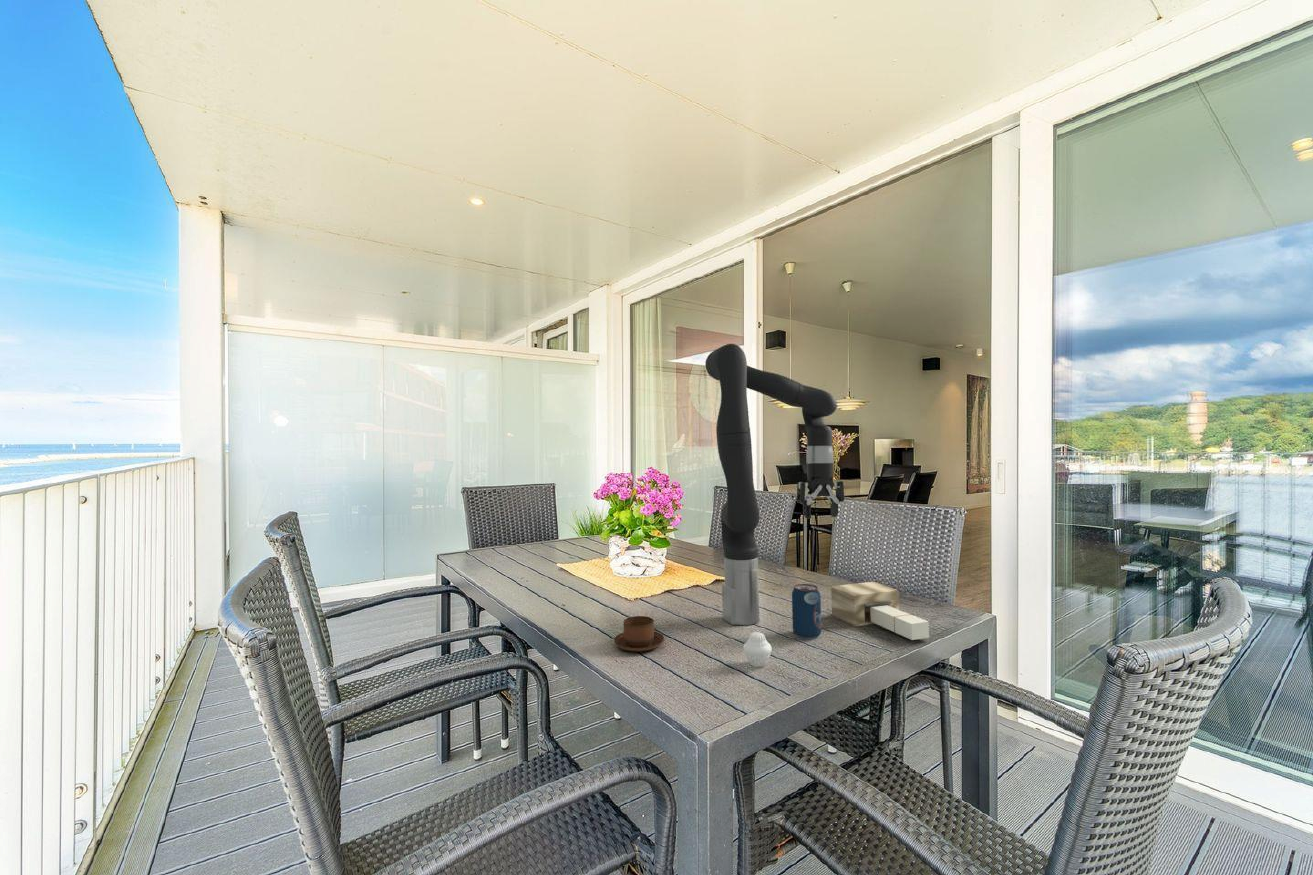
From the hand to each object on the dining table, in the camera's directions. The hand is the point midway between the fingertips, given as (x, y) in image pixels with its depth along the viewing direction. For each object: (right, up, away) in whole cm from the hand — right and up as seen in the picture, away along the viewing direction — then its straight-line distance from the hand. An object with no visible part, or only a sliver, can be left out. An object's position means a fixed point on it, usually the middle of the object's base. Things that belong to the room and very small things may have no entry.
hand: (820, 517), depth 154 cm
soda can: (-10, -27, -21) cm, 35 cm away
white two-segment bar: (+13, -25, -21) cm, 35 cm away
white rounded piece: (-26, -27, -38) cm, 53 cm away
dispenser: (+9, -26, -9) cm, 29 cm away
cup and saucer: (-52, -28, -26) cm, 64 cm away
